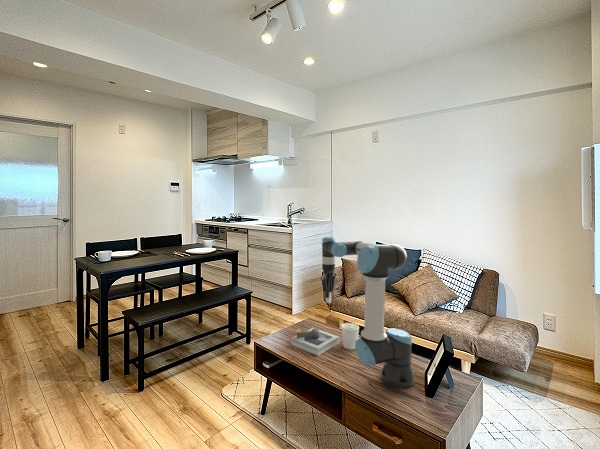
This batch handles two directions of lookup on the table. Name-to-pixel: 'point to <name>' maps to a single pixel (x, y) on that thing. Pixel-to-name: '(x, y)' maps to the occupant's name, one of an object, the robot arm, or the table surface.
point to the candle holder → (350, 335)
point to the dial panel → (316, 349)
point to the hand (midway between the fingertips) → (328, 302)
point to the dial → (312, 336)
